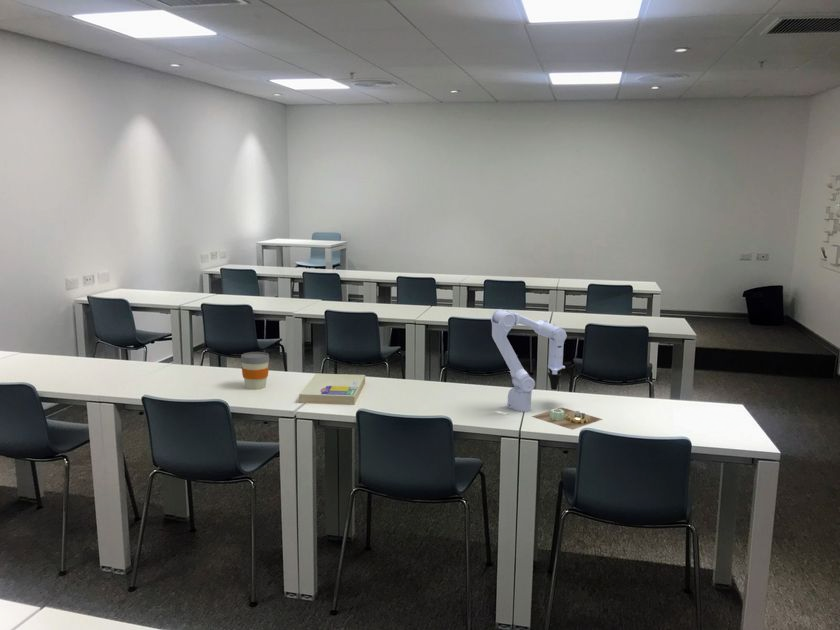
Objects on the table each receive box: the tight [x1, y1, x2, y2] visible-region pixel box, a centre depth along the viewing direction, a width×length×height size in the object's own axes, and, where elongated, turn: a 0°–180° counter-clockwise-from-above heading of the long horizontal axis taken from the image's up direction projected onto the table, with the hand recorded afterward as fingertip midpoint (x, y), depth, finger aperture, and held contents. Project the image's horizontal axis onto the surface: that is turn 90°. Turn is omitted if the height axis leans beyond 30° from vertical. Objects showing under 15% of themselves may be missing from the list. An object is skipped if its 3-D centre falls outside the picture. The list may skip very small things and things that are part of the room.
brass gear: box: [566, 412, 589, 424], centre depth 268 cm, size 9×9×4 cm
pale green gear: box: [549, 408, 565, 421], centre depth 269 cm, size 6×6×3 cm
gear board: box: [531, 407, 603, 430], centre depth 271 cm, size 20×20×5 cm
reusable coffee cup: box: [240, 351, 270, 391], centre depth 309 cm, size 13×13×15 cm
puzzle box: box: [298, 373, 366, 406], centre depth 303 cm, size 36×5×24 cm
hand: (554, 387), depth 284 cm, fingers open, 7 cm apart
